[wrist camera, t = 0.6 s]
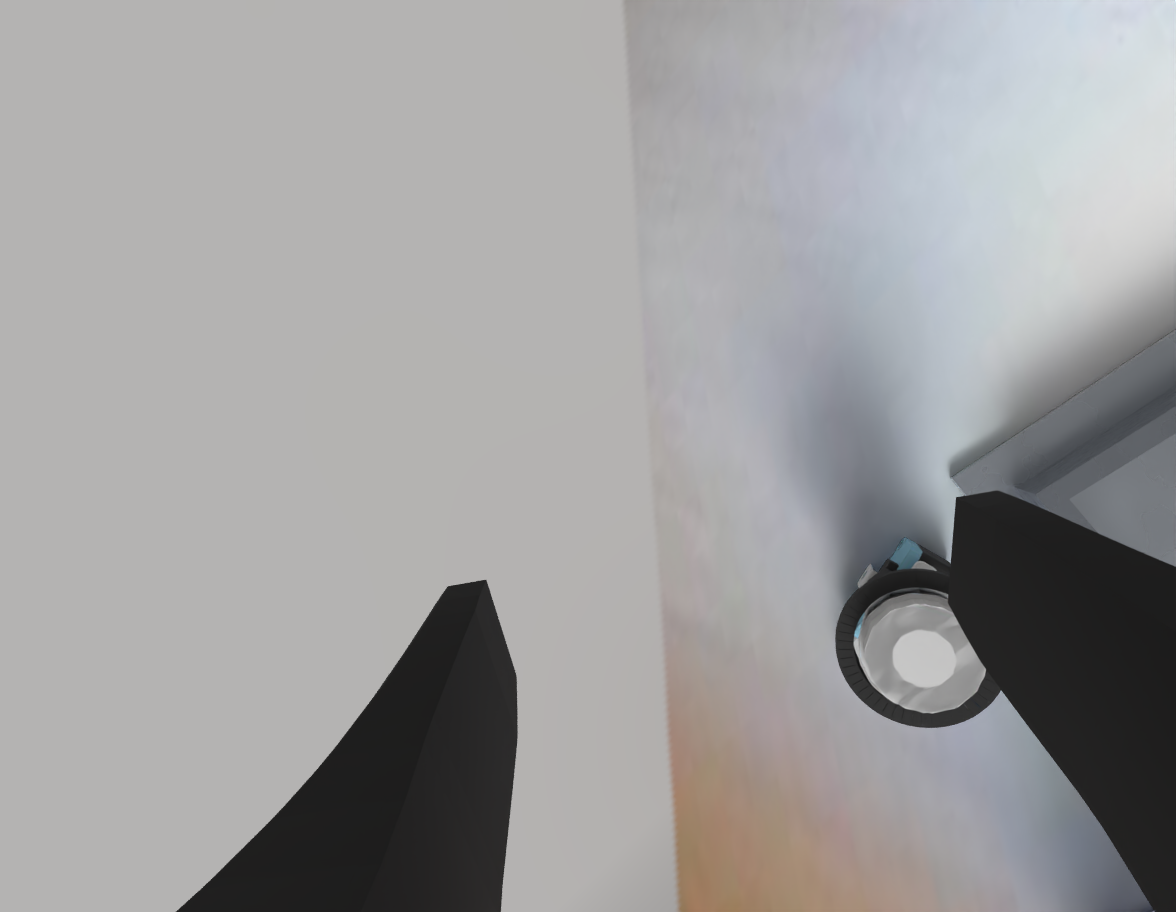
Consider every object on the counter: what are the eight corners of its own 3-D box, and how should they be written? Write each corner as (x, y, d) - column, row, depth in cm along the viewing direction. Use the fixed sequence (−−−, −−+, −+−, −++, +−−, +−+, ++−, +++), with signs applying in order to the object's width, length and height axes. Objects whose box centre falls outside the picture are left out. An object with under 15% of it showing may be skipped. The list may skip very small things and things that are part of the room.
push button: (900, 692, 32) (933, 805, 23) (796, 627, 34) (785, 708, 24) (984, 572, 31) (1055, 638, 21) (871, 509, 32) (891, 545, 23)
